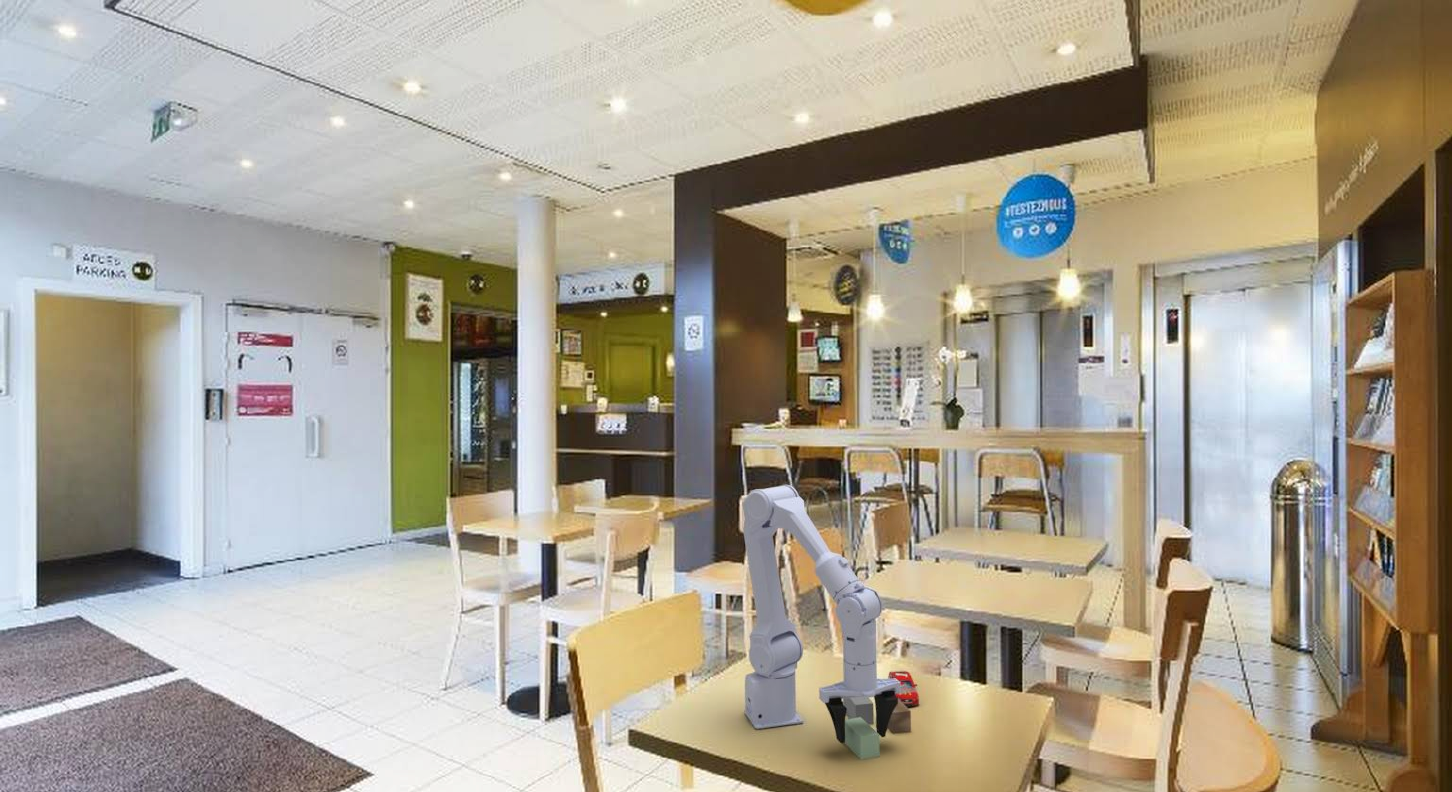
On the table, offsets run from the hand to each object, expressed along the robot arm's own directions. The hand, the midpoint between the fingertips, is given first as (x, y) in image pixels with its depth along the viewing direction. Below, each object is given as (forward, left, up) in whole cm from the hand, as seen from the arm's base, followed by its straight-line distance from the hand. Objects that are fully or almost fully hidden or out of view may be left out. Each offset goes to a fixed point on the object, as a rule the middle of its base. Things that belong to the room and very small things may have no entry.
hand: (861, 737), depth 132 cm
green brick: (0, 0, -2) cm, 2 cm away
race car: (+18, +19, -3) cm, 26 cm away
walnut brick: (+10, +7, -2) cm, 12 cm away
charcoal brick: (+5, +12, -2) cm, 13 cm away
